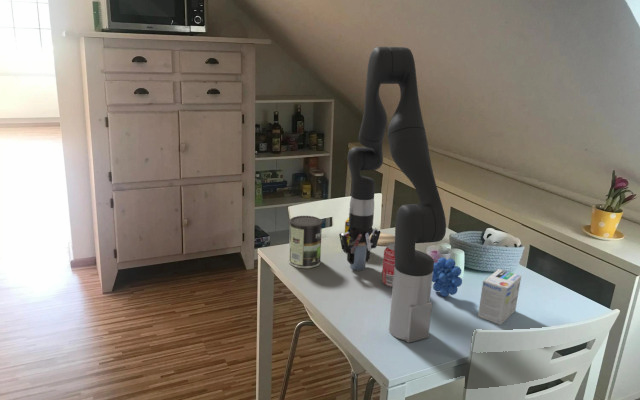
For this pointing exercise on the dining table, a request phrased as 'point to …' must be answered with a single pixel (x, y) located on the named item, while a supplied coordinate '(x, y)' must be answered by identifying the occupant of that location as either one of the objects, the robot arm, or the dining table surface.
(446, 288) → the grapes
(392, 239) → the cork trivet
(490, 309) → the light bulb box
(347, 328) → the dining table surface
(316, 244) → the coffee can
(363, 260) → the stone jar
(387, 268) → the soda can
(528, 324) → the dining table surface
